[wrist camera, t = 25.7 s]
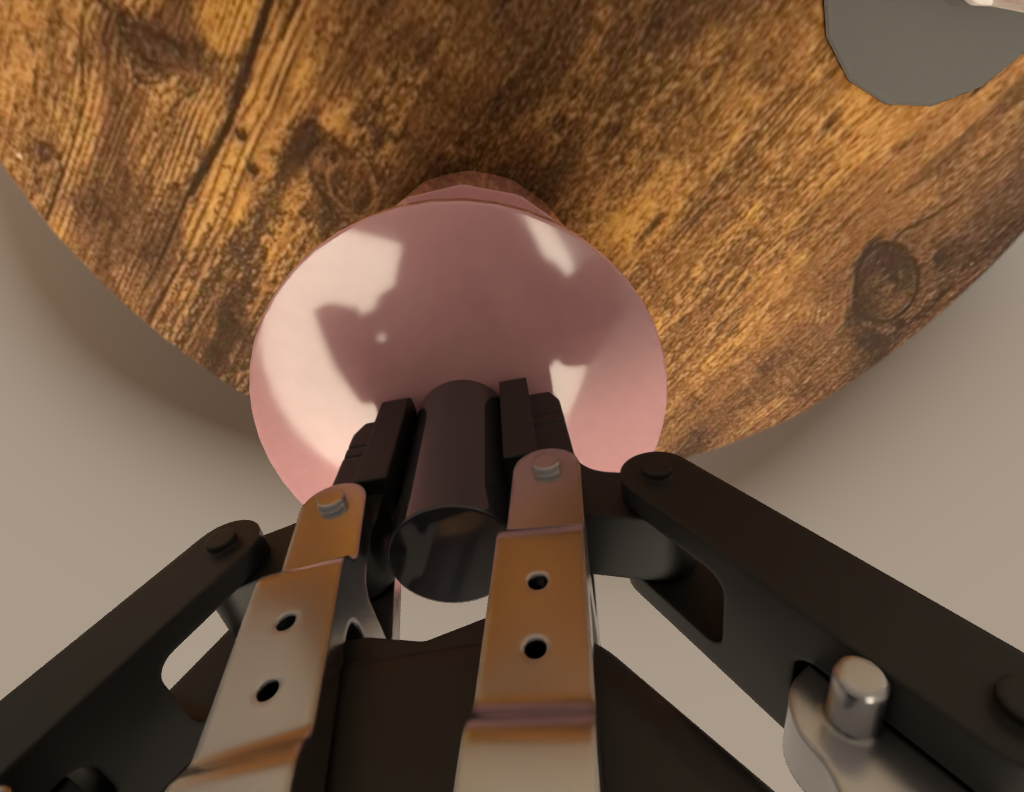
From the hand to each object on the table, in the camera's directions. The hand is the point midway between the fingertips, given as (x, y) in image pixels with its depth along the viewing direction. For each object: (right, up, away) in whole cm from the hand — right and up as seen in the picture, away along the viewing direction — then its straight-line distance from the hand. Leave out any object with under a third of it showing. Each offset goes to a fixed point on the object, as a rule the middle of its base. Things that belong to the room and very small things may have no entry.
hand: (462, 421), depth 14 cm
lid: (0, 0, +1) cm, 1 cm away
